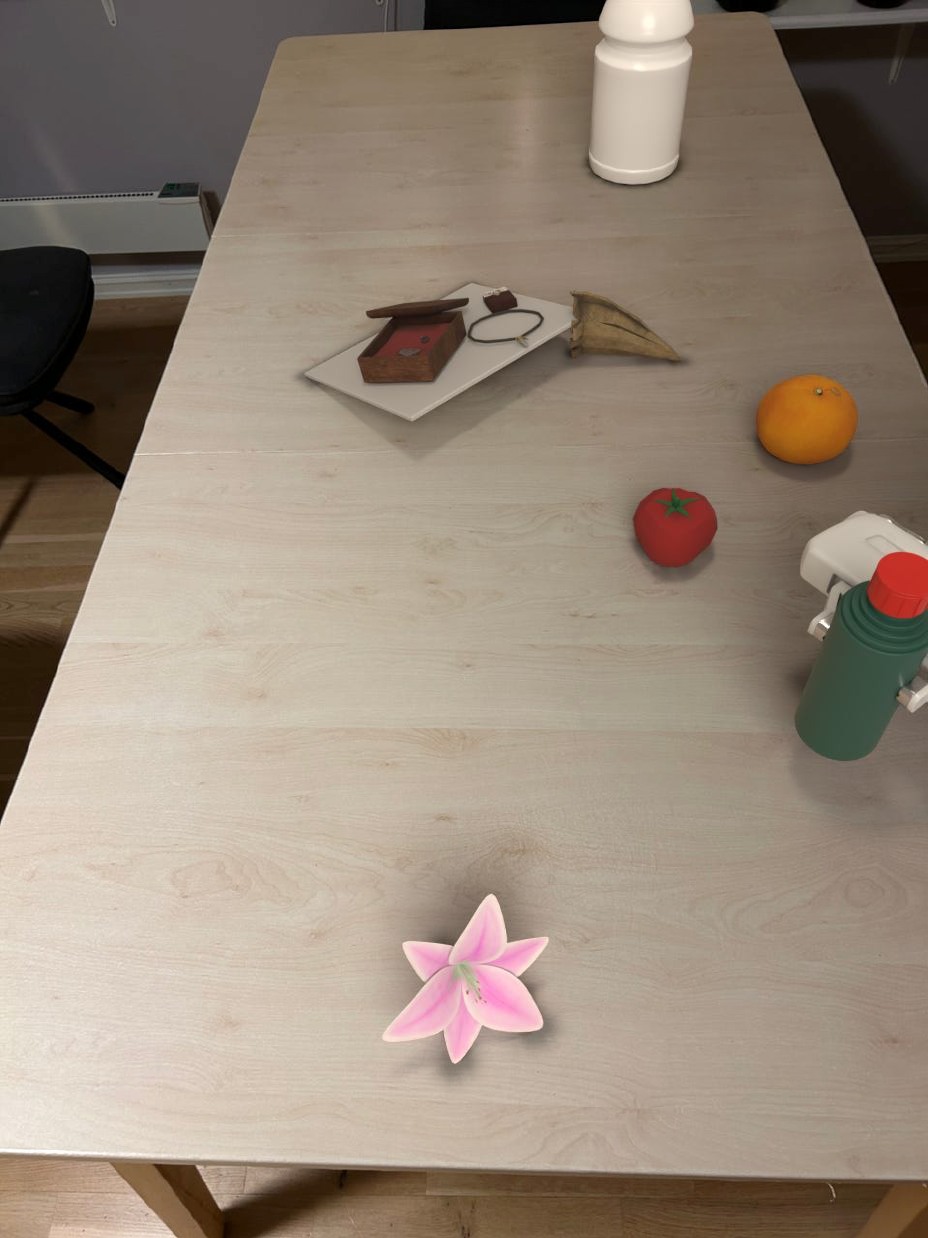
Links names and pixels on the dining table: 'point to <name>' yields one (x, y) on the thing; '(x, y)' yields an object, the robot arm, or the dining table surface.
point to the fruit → (806, 419)
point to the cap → (900, 585)
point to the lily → (470, 985)
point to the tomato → (674, 525)
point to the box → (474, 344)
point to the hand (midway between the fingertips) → (860, 666)
